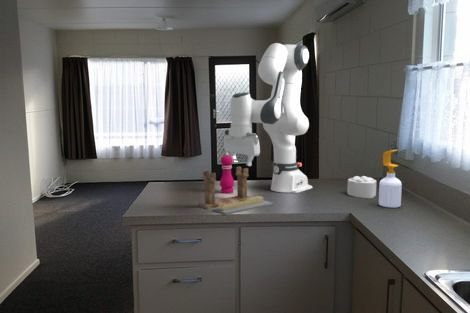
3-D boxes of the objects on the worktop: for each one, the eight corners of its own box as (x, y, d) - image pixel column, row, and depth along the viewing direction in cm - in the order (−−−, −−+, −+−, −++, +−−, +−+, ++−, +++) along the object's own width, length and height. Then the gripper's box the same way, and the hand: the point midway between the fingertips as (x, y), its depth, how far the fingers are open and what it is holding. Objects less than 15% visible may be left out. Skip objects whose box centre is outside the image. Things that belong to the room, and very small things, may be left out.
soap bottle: (390, 208, 183) (392, 151, 180) (374, 204, 191) (376, 148, 188) (405, 206, 187) (408, 149, 184) (388, 201, 195) (391, 147, 192)
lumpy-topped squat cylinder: (372, 198, 202) (372, 180, 200) (344, 195, 208) (345, 177, 207) (377, 194, 211) (378, 176, 209) (350, 191, 217) (351, 174, 216)
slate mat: (259, 200, 198) (259, 199, 198) (272, 204, 191) (272, 202, 191) (212, 210, 183) (212, 208, 183) (225, 214, 176) (225, 212, 176)
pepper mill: (232, 194, 212) (232, 153, 209) (218, 193, 213) (217, 153, 211) (235, 190, 219) (235, 151, 216) (221, 190, 220) (221, 151, 218)
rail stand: (243, 197, 205) (243, 166, 203) (252, 200, 200) (252, 167, 198) (198, 205, 190) (198, 172, 188) (207, 209, 185) (207, 174, 183)
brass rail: (258, 201, 194) (258, 195, 194) (263, 202, 192) (263, 197, 191) (218, 209, 181) (218, 203, 180) (223, 211, 179) (222, 205, 178)
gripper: (263, 133, 175) (263, 166, 178) (232, 129, 192) (233, 160, 194) (251, 134, 172) (251, 168, 174) (221, 130, 188) (221, 162, 190)
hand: (241, 164), depth 184 cm, fingers open, 8 cm apart
